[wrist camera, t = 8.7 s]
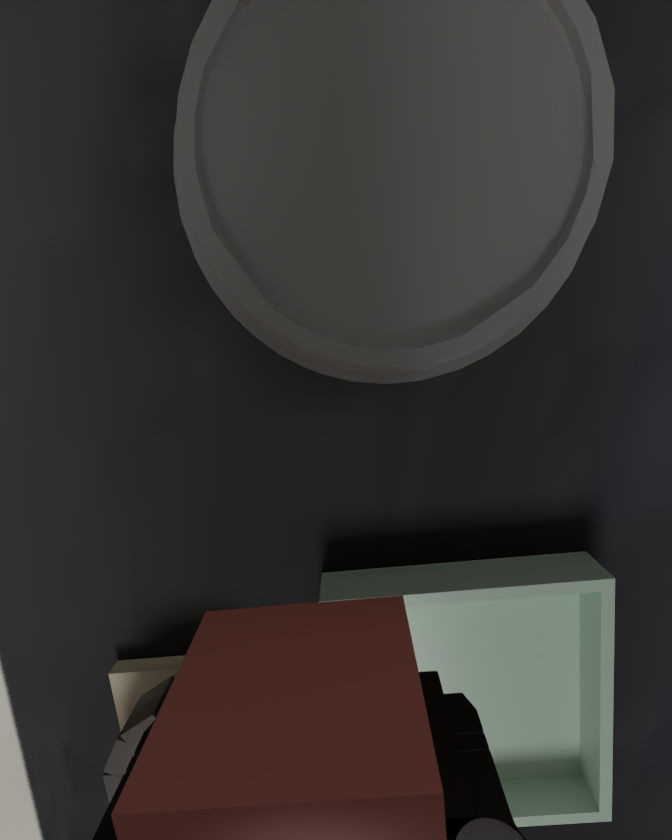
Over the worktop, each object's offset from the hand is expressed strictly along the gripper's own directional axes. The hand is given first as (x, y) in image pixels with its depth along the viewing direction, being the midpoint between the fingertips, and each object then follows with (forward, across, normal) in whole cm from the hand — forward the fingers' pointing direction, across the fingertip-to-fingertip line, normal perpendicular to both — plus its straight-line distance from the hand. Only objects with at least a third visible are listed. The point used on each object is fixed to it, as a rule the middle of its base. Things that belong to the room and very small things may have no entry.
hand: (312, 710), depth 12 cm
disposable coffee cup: (+12, -3, -12) cm, 18 cm away
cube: (+1, 0, 0) cm, 1 cm away
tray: (+12, -6, +10) cm, 16 cm away
